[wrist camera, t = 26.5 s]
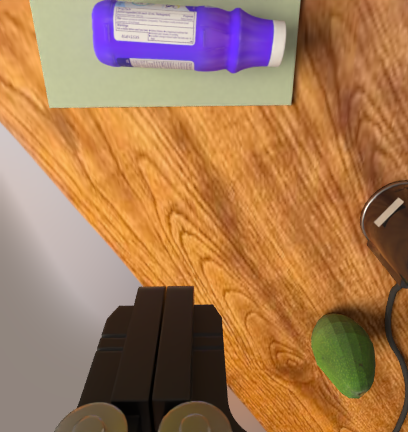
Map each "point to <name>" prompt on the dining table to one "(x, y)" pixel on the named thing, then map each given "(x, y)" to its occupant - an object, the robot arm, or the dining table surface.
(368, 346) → the avocado
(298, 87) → the dining table surface
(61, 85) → the mat
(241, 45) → the bottle
